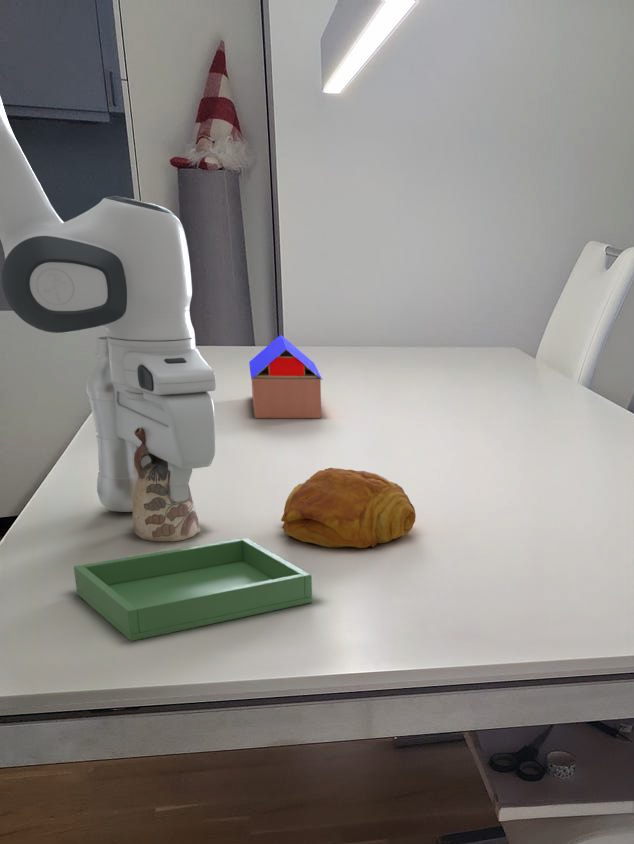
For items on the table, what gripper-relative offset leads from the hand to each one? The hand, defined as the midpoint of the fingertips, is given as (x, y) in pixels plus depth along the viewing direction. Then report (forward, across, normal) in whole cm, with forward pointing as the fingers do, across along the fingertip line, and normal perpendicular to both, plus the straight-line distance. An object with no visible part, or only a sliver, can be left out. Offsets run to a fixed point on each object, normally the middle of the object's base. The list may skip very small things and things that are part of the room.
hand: (164, 491), depth 115 cm
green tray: (+5, +21, -6) cm, 22 cm away
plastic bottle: (+5, -11, 0) cm, 12 cm away
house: (+5, -61, +48) cm, 78 cm away
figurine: (+5, 0, 0) cm, 5 cm away
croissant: (+5, +10, +17) cm, 20 cm away
